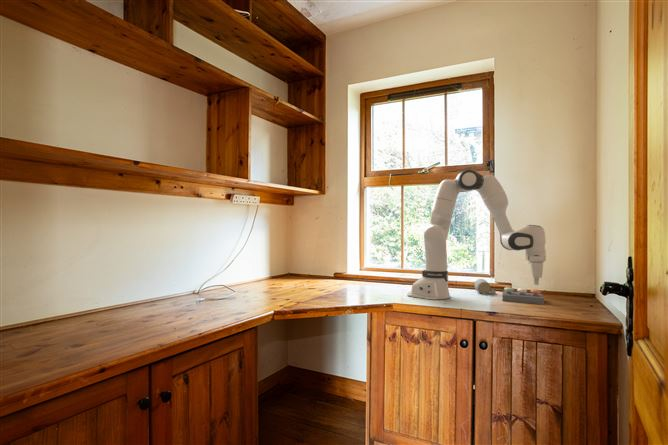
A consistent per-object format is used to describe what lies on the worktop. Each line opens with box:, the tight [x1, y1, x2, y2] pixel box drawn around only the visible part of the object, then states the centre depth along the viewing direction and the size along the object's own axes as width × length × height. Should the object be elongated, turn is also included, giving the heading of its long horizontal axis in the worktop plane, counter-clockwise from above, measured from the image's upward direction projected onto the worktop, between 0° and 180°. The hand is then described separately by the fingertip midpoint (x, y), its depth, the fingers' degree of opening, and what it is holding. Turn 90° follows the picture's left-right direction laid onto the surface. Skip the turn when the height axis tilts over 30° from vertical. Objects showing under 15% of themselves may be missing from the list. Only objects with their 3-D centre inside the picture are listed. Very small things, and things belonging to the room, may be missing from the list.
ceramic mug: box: [473, 278, 497, 295], centre depth 193 cm, size 11×8×8 cm
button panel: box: [501, 290, 545, 305], centre depth 174 cm, size 18×12×3 cm, turn 63°
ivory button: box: [516, 287, 528, 295], centre depth 175 cm, size 4×4×4 cm
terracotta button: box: [530, 288, 542, 296], centre depth 172 cm, size 4×4×4 cm
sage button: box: [503, 286, 515, 294], centre depth 177 cm, size 4×4×4 cm
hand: (536, 284), depth 172 cm, fingers closed
